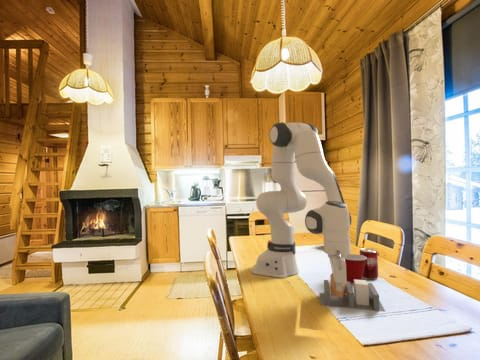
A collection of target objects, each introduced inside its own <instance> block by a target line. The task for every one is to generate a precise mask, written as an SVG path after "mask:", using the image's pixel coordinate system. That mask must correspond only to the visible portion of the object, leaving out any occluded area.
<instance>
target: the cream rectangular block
mask: <svg viewBox="0 0 480 360" xmlns="http://www.w3.org/2000/svg"><path fill="white" fill-rule="evenodd" d="M368 283H369V282H368V281H367V279H366V280H364V279H362V280H355V279H354V284H353V292H354V300H355V303H356V304H357V305H368V306H369V285H368Z"/></svg>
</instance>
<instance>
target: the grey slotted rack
mask: <svg viewBox="0 0 480 360" xmlns="http://www.w3.org/2000/svg"><path fill="white" fill-rule="evenodd" d="M367 283H368V285H369V306H368V305H357V304H356V303H355V300H354V288H353V287H352V283H350V282H348V281H346V294H345V295H344V297H343V298H342V297H337V296H333V295H331V287H330V284H329V280H328V279H323V291H324V292H319V305H320V306H325V307H333V308H336V307H337V308H344V309H345V308H346V309H355V310H356V309H358V310H365V311H377V312H386V309H385V308H384V306H383V304H382V303H381V301H380V295H379V293H378V291H377V289H376V287H375V285H374V284H373V283H372V282H367Z"/></svg>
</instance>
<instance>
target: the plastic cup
mask: <svg viewBox="0 0 480 360" xmlns="http://www.w3.org/2000/svg"><path fill="white" fill-rule="evenodd" d="M366 259H367V257H365V256H362V255H360V254H356V253H350V254H349V255H347V258H346V259H345V263H346V278H347V281H348V282H350V284H353V285H354V279H355V280H363V270H364V265H365V261H366Z"/></svg>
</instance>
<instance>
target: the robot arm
mask: <svg viewBox="0 0 480 360" xmlns="http://www.w3.org/2000/svg"><path fill="white" fill-rule="evenodd" d="M269 140H270V142H271V144H272V145H273V148H272V154H271V171H270V172H271V173H270V174H271V179H272V180H273V181H274V182H275V183H277V184H279V187H280V190H272V191H271V190H269V191H264V192H262V193H261V192H260V194H259V195H258V196H257V198H256V202H255V203H256V209H258V211H259V212H260V213H261V214H262V215H263V216H265V218H266V219H267V221H268V224H269V227H270V239H271V240H268V241H267V244H266V248H267V249H266V250H264V251H263V252H261V254H259V255H258V256H257V259H256V263H255V264H254V265H253V266H252V267H251V273H252V274H254V275H259V276H267V277H273V278H279V279H280V278H281V279H283V278H287V277H290V276H291V277H292V276H295V275H297V274H298V273H299V268H298V264H297V260H296V252H297V249H296V247H297V246H296V241H295V227H294V225H293V224H292V223H291V222H290V221H288V220H286V218H285V215H284V214H290V213H291V214H292V213H297V212H301V211H303V210H304V209H305V208H306V207H307V203H308V201H307V197H306V195H305V193H304V192H303V191H301V189H300V188H299V186H298V184H297V182H296V171H295V170H296V168H297V170H298V173H300V175H301V176H302V177H304V178H305V179H308V180H310V181H313V182H316V183H317V184H319V185H320V186H321V187H322V188H323V189H324V191H325V195H326V198H327V201H325V202H324V203H323V204H322V205H321V206H319V207H316V208H314V209H310V210H308V211H307V213H306V215H305V218H304V224H305V225H304V226H305V227H306V230H307V231H308V232H309V233H311V234H314V235H323V240H324V241H323V253H325V254H327V257H328V258H329V263H330V268H331V271H332V273H333V277H334V281H335V283H336V290H337V291H342V284H346V281H347V278H346V263H345V259H346V258H347V255H349V254H352V253H351V251H352V250H351V249H352V247H351V237H350V229H351V225H352V221H353V220H352V215H351V214H350V211H349V208H348V206H347V204H346V203H345V199H344V197H343V194H342V191H341V187H340V185H339V182H338V179H337V177H336V174H335V171H333V169H331V168H330V166H329V164H328V163H327V161H326V158H325V154H324V149H323V146H322V142H321V139H320V137H319V131H318V128H317V126H315V125H314V124H312V123H305V122H304V123H303V122H295V121H294V122H276V123H274V124H272V126H271V128H270V131H269ZM332 273H331V274H332Z"/></svg>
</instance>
